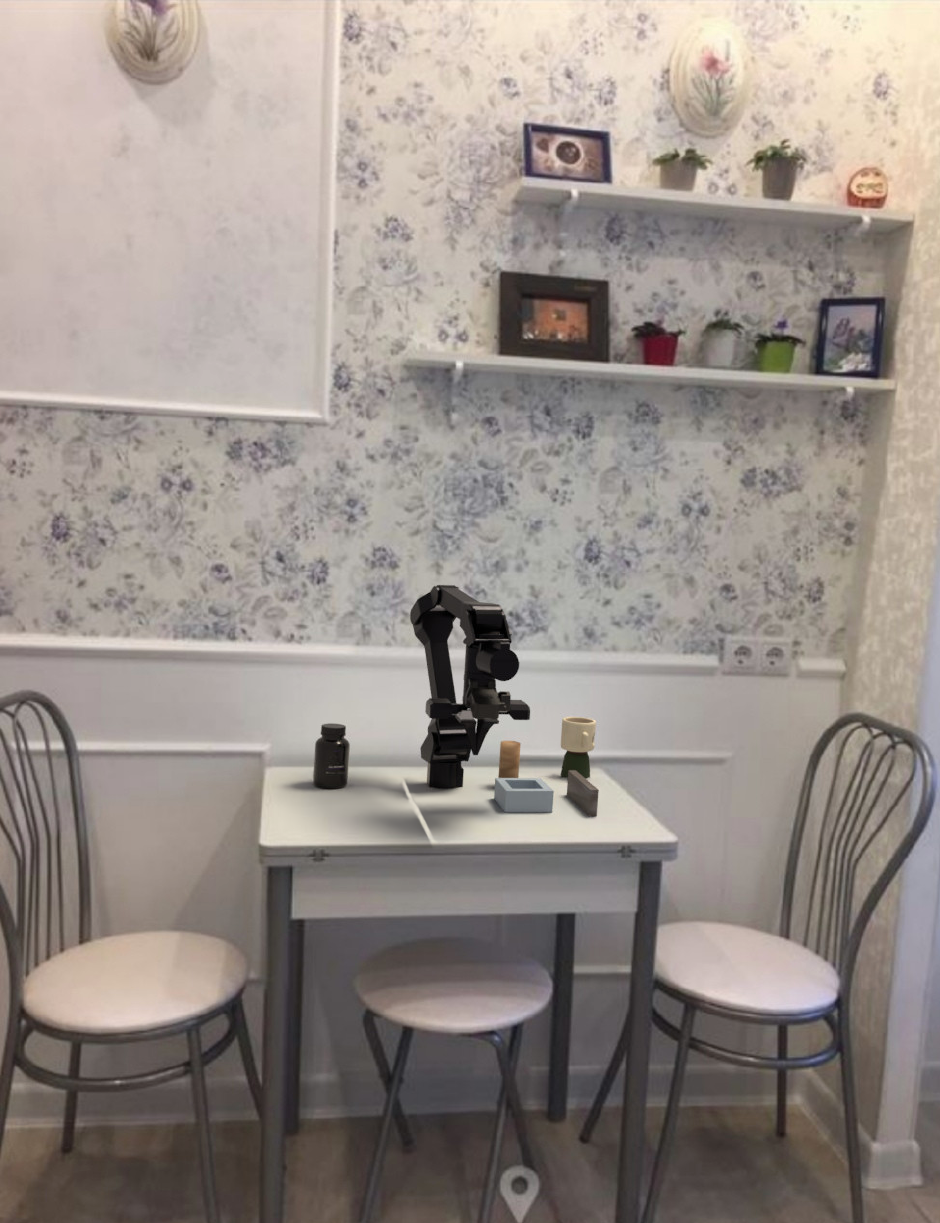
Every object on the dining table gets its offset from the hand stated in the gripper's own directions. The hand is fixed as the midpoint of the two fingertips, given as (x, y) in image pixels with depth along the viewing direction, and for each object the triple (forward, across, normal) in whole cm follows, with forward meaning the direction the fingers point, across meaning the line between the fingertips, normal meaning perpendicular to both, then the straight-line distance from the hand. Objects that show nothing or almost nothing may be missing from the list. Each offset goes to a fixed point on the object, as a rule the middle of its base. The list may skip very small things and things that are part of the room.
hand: (475, 754), depth 191 cm
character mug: (+11, +27, +22) cm, 36 cm away
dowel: (+11, +10, +13) cm, 20 cm away
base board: (+11, +13, 0) cm, 17 cm away
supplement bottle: (+11, -25, +18) cm, 33 cm away
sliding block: (+10, +10, 0) cm, 14 cm away
